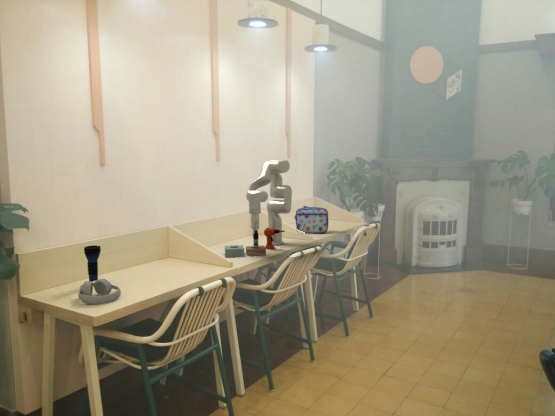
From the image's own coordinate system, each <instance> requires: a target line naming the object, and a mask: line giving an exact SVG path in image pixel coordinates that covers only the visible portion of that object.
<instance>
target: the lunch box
mask: <svg viewBox="0 0 555 416" xmlns="http://www.w3.org/2000/svg"><path fill="white" fill-rule="evenodd" d="M293 219H294V220H295V227H296V230H297V229H298V230H300V231H303V232H305V233H315V234H324V233H326V232H328V230H329V229H328V228H329V211H328V209H327V208H325V207H318V206H306V205H303V207H300V208H298V209H296V211H295V214H294V217H293Z"/></svg>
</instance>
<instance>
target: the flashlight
mask: <svg viewBox="0 0 555 416" xmlns="http://www.w3.org/2000/svg"><path fill="white" fill-rule="evenodd" d="M101 247H102V246H101V245H88V246H84V247H83V253H84V256H85V258H86V259H87V262H86V263H87V265H86V266H87V274H88V280H89V281H92V284H93V286H94V283H95V281H97V280H99V276H98V275H99V269H98V268H99V264H98V263H99V262H98V259H99V257H100V255H101V251H102V250H101V249H102V248H101Z"/></svg>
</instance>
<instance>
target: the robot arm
mask: <svg viewBox="0 0 555 416" xmlns="http://www.w3.org/2000/svg"><path fill="white" fill-rule="evenodd" d="M290 166H291V165H290V161H288V160H287V159H271V160H267V161H264V163H263V165H262V167H261V169H260V173H259V175H258V176H259V177H258V178H256V179H255V180H253V181H252V182H251V184H249V186H248V189H247V191H246V200H247V201H248V214H249V215H250V228H251V230H252V232H253V231H254V234H253V233H252V238H253V237H254V240H258V241H259V229H260V214H262V212H261V209H262V207H261V203H265V202H266V201H267V203H266V210H267V218H268V223H267V224H268V228H271V229H272V228H273V229H277V230H280V231H283V228H282V226H283V225H282V224H283V223H282V220H283V219H282V217H281V215H280V214H290V213H291V209H292V201H293V200H292V199H293V198H292V197H293V190H292V187H291V186H290V185H289V184H283V177H282V175H281V174H285V173H287V172H289V170H290V168H291V167H290ZM268 185H270V186H269V194H268V192H267V191H265V190H258V189H260V188H263V187H265V186H268ZM269 196H270V198H273V199H270V200H269V201H268V199H269ZM281 199H282V200H281ZM272 238H273V241H272V245H273V246H280V245H284V244H285V241H284V240H283V232H280V233H277V234H275V235H272Z"/></svg>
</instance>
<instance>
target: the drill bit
mask: <svg viewBox="0 0 555 416" xmlns="http://www.w3.org/2000/svg"><path fill="white" fill-rule="evenodd" d="M253 234H254V231H253V230H252V235H253ZM252 241H253V246H259V239H258V240H254V237H253V236H252Z"/></svg>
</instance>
